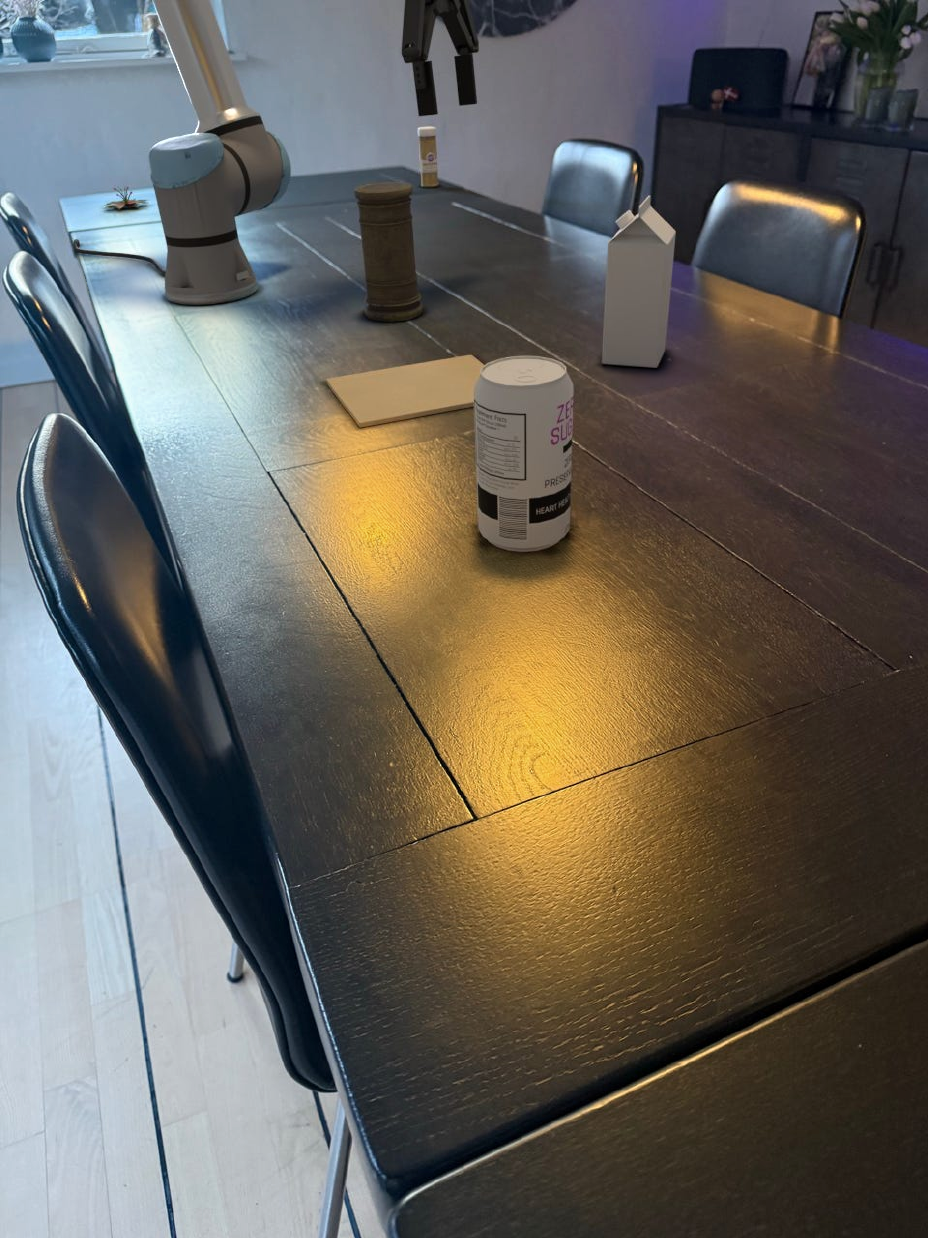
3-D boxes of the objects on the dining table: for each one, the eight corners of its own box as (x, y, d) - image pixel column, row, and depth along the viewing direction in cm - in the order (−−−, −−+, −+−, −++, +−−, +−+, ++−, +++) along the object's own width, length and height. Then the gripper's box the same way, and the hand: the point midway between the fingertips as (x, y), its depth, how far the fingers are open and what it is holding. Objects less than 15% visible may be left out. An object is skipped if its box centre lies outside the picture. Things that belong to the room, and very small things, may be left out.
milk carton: (665, 351, 119) (679, 195, 108) (656, 369, 114) (670, 207, 103) (612, 347, 121) (620, 194, 110) (601, 365, 116) (609, 206, 105)
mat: (326, 383, 114) (325, 378, 114) (471, 358, 120) (471, 354, 120) (359, 427, 102) (359, 422, 102) (520, 397, 108) (520, 393, 107)
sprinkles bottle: (427, 188, 227) (423, 128, 219) (417, 186, 230) (413, 127, 222) (442, 186, 229) (439, 126, 221) (432, 183, 232) (429, 125, 224)
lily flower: (143, 210, 218) (138, 190, 216) (94, 212, 219) (89, 192, 216) (157, 201, 228) (153, 181, 225) (111, 203, 228) (106, 183, 226)
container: (415, 322, 134) (405, 191, 124) (357, 321, 136) (343, 192, 125) (429, 305, 141) (421, 180, 131) (374, 304, 143) (362, 180, 133)
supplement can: (474, 514, 84) (468, 356, 75) (561, 507, 84) (565, 350, 76) (483, 559, 77) (477, 391, 69) (577, 551, 78) (583, 383, 69)
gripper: (410, -79, 110) (433, 117, 122) (491, -72, 128) (505, 98, 140) (359, -68, 113) (386, 122, 125) (445, -63, 132) (461, 102, 143)
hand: (449, 109), depth 132 cm, fingers open, 13 cm apart
